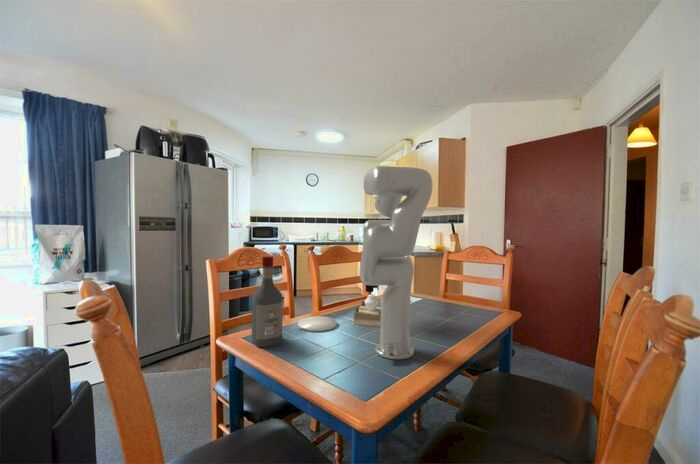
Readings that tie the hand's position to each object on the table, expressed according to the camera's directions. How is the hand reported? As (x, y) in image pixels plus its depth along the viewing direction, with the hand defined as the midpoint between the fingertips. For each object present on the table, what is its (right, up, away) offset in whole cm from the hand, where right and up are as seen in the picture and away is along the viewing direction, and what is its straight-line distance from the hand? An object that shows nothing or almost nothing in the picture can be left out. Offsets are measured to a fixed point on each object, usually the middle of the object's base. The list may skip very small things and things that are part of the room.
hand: (372, 289), depth 128 cm
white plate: (-23, -14, -5) cm, 27 cm away
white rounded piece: (0, -9, +1) cm, 9 cm away
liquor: (-39, -14, -23) cm, 47 cm away
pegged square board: (0, -14, +1) cm, 14 cm away
